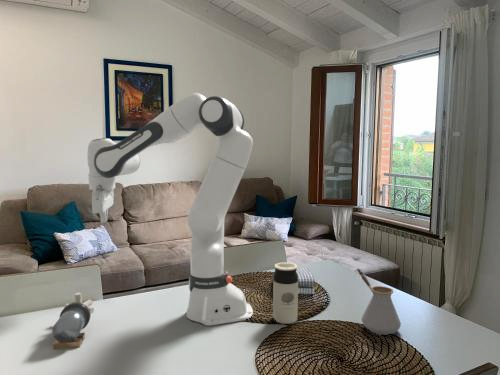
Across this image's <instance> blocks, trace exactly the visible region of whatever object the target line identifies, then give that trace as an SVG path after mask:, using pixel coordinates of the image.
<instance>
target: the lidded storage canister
mask: <svg viewBox="0 0 500 375" xmlns="http://www.w3.org/2000/svg"><path fill="white" fill-rule="evenodd" d="M68 304H69V305H67V306H66V307H65V308H64V307H63V309H62V310H61V312H60V314H59V318H58V319H57V321H56V322H55V324H54V325H53V327H52V330H51V332H52V333H51V334H52V336H53V338H54V342H53V343H52V350H59V349H75V348H81V346H82V345H83V344H82V343H83V342H84V340H85V339H86V332H82V330H83V329H85V328H86V327H87V326H88V324H89V323H90V320H91V317H92V315H91V313H90V310H89V309H88V307H89V306H88V307H87V306H86V305H84V304H83V302H82V303H78V302H71V303H68Z"/></svg>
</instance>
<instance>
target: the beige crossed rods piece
mask: <svg viewBox="0 0 500 375" xmlns="http://www.w3.org/2000/svg"><path fill="white" fill-rule="evenodd" d="M74 299H75V300H74V301H75V302H78V303H82V304H84V305H86V306H87V307H88V309H89V310H90V314H94V312H95V308H94V307H93V306H92V305H93V303H94V302H93V301H92V299H88V300H86V301H84V302H83V300H82V292H76V293H74ZM75 302H74V303H75ZM69 304H70V303H65V304H64V307H63V309H64V308H65V307H66V306H67V305H69ZM91 306H92V307H91Z"/></svg>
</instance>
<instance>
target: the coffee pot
mask: <svg viewBox="0 0 500 375" xmlns="http://www.w3.org/2000/svg"><path fill="white" fill-rule="evenodd" d="M356 271H357V273H358V274H359V276H360V277H361V279H362V280H363V282H364V283H365V284H366V286H367V287H368V288H369V290H370V291H371V292H372V296H371V299H369V300H370V301H369V303H368V305H367V306H366V309H365V310H364V312H363V314H362V315H361V316H362V317H361V322H362V324H363V325H364V327H365V328H366V329H367V330H368V329H369V330H370V331H372V332H374V333H377V334H383V335H388V334H392V335H393V334H394V333H396V332H397V331H399V329H400V328H401V324H402V323H401V319H400V318H399V315H398V312H397V310H396V308H395V305H394V303H393V299H392V297H391V296H392V294H393V293H394V289H393V288H391V287H387V286H380V285H377V286H372V285H371V283H370V281H369V280H368V278H367V277H366V276H365V275H364V274H363V271H362V269H360V268H356V269H354V272H356ZM369 330H368V331H369ZM370 331H369V332H370ZM374 333H373V334H374ZM377 334H376V335H377ZM388 336H389V335H388Z"/></svg>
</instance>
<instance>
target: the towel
mask: <svg viewBox="0 0 500 375" xmlns="http://www.w3.org/2000/svg"><path fill="white" fill-rule="evenodd" d="M275 271H276V270H275V269H274V272H275ZM296 273H297V275H298V294H314V295H315V286H316V284H315V282H316V281H315V277H314V275H313V273H312V272H311V271H310V269H309V268H308V267H297V269H296Z"/></svg>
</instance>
